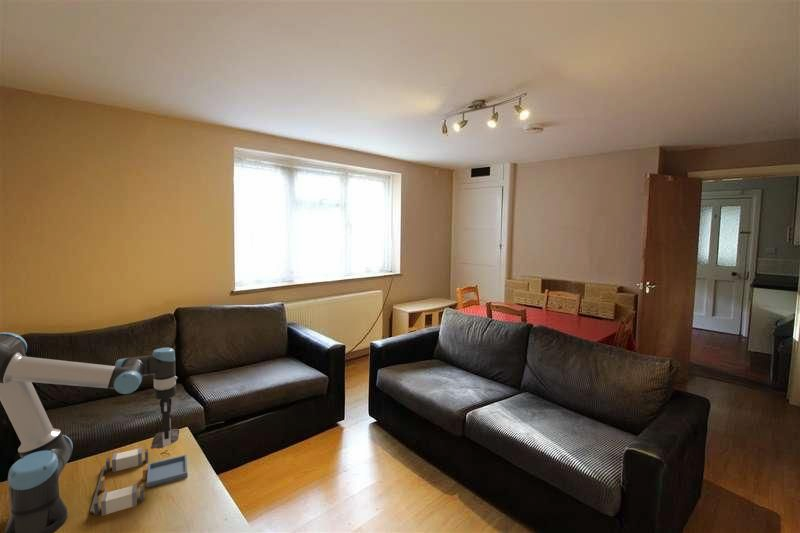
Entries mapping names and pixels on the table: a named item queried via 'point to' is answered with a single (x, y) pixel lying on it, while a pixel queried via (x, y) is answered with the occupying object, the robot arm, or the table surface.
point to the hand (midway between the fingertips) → (167, 439)
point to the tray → (167, 470)
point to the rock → (158, 438)
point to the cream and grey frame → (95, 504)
